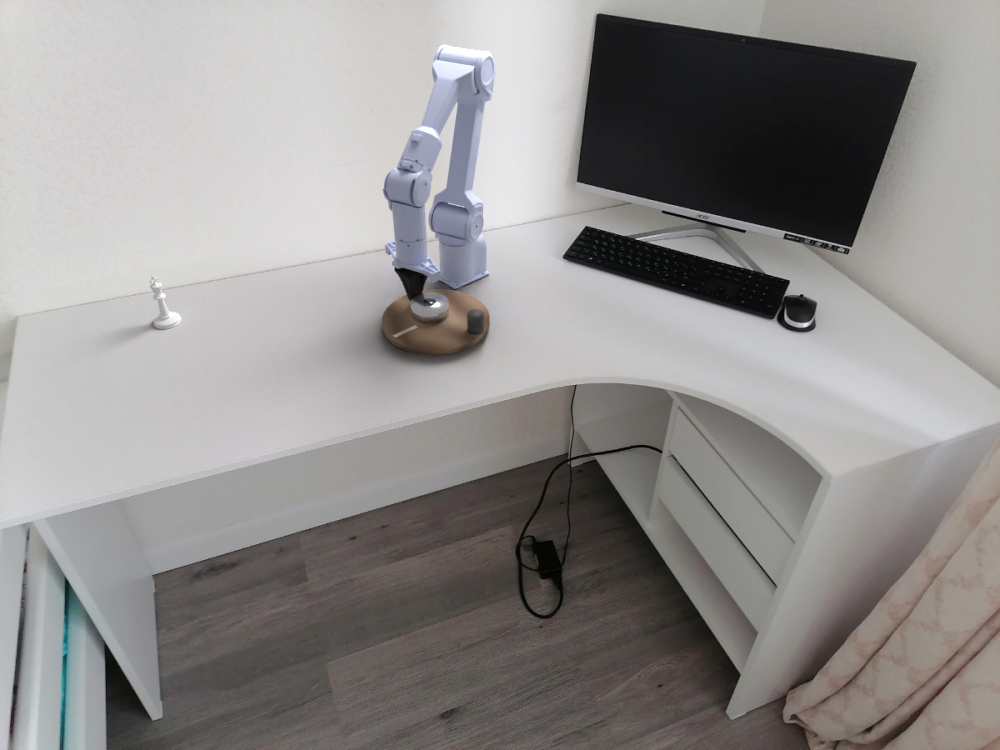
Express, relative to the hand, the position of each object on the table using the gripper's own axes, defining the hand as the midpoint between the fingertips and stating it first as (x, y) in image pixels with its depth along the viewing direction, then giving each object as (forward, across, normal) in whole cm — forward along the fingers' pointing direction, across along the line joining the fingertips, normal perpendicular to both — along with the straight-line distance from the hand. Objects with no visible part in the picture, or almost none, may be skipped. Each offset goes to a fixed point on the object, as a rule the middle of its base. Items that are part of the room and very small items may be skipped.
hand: (415, 299), depth 139 cm
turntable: (+2, +6, 0) cm, 7 cm away
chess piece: (+3, -28, -37) cm, 47 cm away
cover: (+1, +5, 0) cm, 5 cm away
